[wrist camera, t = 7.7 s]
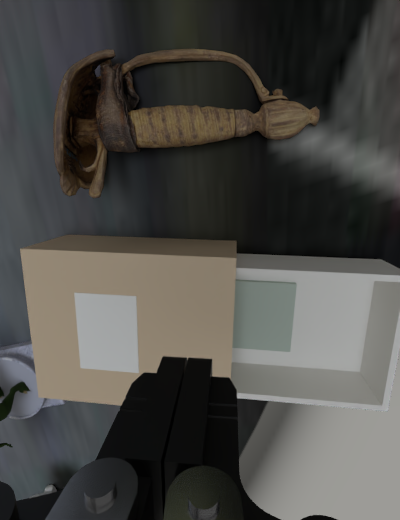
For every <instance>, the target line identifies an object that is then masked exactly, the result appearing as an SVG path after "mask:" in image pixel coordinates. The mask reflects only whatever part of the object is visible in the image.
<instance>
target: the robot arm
mask: <svg viewBox="0 0 400 520" xmlns="http://www.w3.org/2000/svg"><path fill="white" fill-rule="evenodd" d="M0 520H280V519H278V518H276V517H274V516H272V515H270V514H268V513H266V512H264V511H263V510H262V509H260V508H259V507H258V506H256V504H255V503H254V502H252V500H251V499H250V498H249V497H248V495H247V493H246V492H245V490H244V488H243V486H242V483H241V480H240V475H239V450H238V415H237V390H236V388H235V386H234V385H233V383H232V381H231V380H230V378H229V377H213V376H212V359H206V358H188V360H187V357H170V356H163V357H162V359H161V362H160V365H159V367H158V370H157V373H147V372H144V373H143V374H142V375H141V376H139V377H138V378H137V379H136V380H135V381H134V382H133V383H132V384H131V386H130V388H129V390H128V392H127V395H126V397H125V399H124V401H123V403H122V405H121V407H120V411H119V412H118V414H117V416H116V418H115V420H114V422H113V424H112V426H111V428H110V431H109V433H108V435H107V437H106V439H105V441H104V443H103V445H102V448H101V450H100V452H99V454H98V456H97V458H96V460H95V461H93V462H91V463H89V464H87V465H85V466H84V467H82V468H81V469H80V470H79V471H77V472H76V473H75V474H74V475H73V476H72V478H71V479H70V480H69V482H68V483H67V485H66V486H65V488H64V489H62V490H59V491H57V492H53V493H50V494H45V495H41V496H37V497H32V498H28V499H23V500H19V501H16V498H15V494H14V491H13V490H12V488H11V487H10V486H9V485H8V484H6V483H3V482H0ZM301 520H337V519H334V518H331V517H328V516H323V515H313V516H308V517H306V518H303V519H301Z"/></svg>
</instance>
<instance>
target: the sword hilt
mask: <svg viewBox="0 0 400 520" xmlns="http://www.w3.org/2000/svg"><path fill="white" fill-rule="evenodd" d="M115 56H116V55H115V52H114V50H108V49H107V50H102V51H98V52H96V53H94V54H91V55H89V56H87V57H86V58H84V59H82V60H80V61H79V62H77V63H75V64H73V65H72V66H71V67H70V68H69V69H68V71H67V72H66V74H65V75H64V77H63V80H62V83H61V86H60V89H59V93H58V99H57V105H56V109H55V116H54V128H53V133H54V158H55V164H56V168H57V171H58V173H59V175H60V185H61V188H62V190H63V192H64V193H65V194H66V195H68V196H72V195H76V192H77V190H78V189H79V188H80V187H82V188H84V189H89V195H90V196H91V197H92V198H98V197H100V195H101V192H102V189H103V187H104V175H105V172H106V166H107V152H108V151H116V152H128V153H132V152H140V149H141V148H169V147H182V146H193V145H202V144H206V143H210V142H216V141H221V140H226V139H230V138H232V137H243V136H247V135H248V134H250V133H252V132H254V131H259V132H260V133H261V134H262V135H263V136H264V137H266V138H269V139H276V140H281V139H286V138H291V137H293V136H294V135H296V134H298V133H299V132H300V131H301V130H302V129H303V128H304V127H305V126H306V125H308V124H309V123H311V124H313V125H314V126H316V124H317V122H318V120H319V109H318V108H317V107H316V106H315V107H314V108H312V109H310V110H309V109H307V108H306V107H304V106H303V105H301V104H299V103H297V102H294V101H288V100H289V99H288V98H287V97H285V96H282V90H280V89H275V90H274V92H273V91H272V92H273V96H269V91H268V90H267V89H266V88H265V87H263V85H262V82H261V80H260V78H259V77H258V76H257V74H256V73H255V72H254V70H253V69H252V68H251V66H250V65H249V64H248V63H247V62H245V61H244V60H243V59H241V58H240V57H239V56H236V55H233V54H229V53H226V52H222V51H213V50H202V49H173V50H164V51H157V52H152V53H147V54H142V55H138V56H136V57H135V58H133V59H132V60H130V61H129V62H127V63H125V64H122V65H121V63H117V64H115V65H114V66H113V65H112V64H111V59H113V58H114V57H115ZM207 60H217V61H227V62H231V63H234V64H236V65H237V66H238V67H240V68H241V69H242V70H243V71H245V72H246V74H247V75H248V76H249V78H250V79H251V81H252V83H253V85H254V87H255V89H256V92H257V95H258V98H259V100H260V102H261V103H262V104H263V105H262V106H261V108H260V110H259V112H257V113H255V114H253V113H251V112H250V111H248V110H234V109H224V108H216V107H211V106H206V107H199V106H197V105H193V106H184V105H168V106H164V107H152V108H142V109H139V110H133V109H134V108H135V107H136V105H137V103H138V101H139V96H138V95H137V94H136V92H135V90H134V88H133V83H132V81H133V78H132V75H131V73H130V71H131V70H132V69H134V68H135V67H138V66H142V65H146V64H152V63H161V62H170V61H207ZM98 65H100V66H101V68H100V69H101V76H99V77H96V75H95V71H94V70H95V69H96V68H97V66H98ZM126 73H127V75H126V76H125V74H126ZM123 82H126V83H127V94H128V97H126V95H125V94H124V93H123Z"/></svg>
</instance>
